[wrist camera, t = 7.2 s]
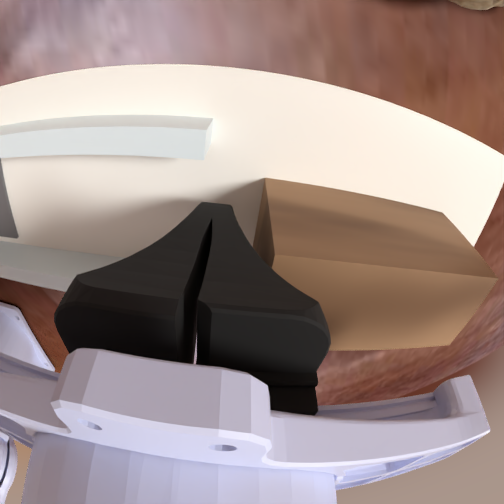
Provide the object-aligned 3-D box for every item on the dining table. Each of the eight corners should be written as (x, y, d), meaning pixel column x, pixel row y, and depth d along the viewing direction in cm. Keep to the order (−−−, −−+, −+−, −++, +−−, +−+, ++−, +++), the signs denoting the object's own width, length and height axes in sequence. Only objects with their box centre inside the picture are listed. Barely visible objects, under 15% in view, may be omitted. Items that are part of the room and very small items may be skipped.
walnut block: (411, 274, 15) (449, 344, 11) (250, 257, 14) (252, 347, 10) (442, 212, 12) (498, 278, 8) (264, 177, 11) (274, 254, 7)
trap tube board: (423, 311, 18) (437, 342, 16) (-21, 261, 15) (-40, 285, 12) (502, 154, 11) (535, 176, 9) (-57, 107, 8) (-87, 123, 5)
